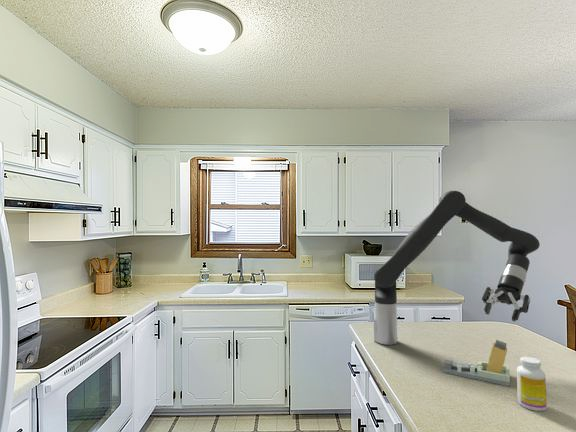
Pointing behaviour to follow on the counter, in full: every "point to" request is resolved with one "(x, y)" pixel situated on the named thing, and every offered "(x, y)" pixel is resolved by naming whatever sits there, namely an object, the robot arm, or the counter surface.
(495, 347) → the block
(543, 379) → the supplement bottle
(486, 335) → the counter surface
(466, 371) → the board
